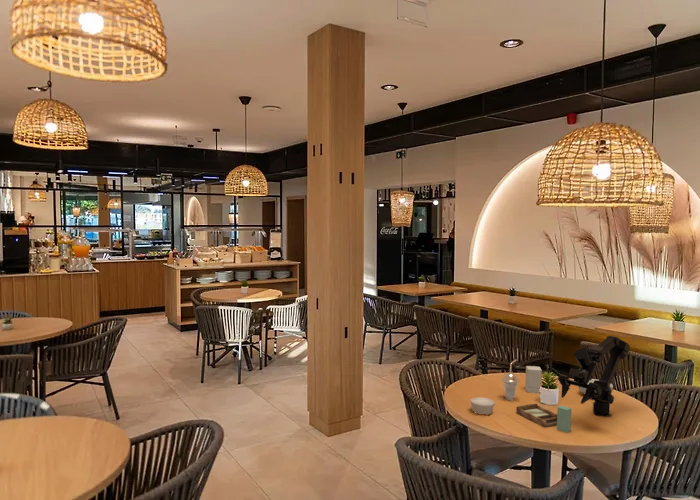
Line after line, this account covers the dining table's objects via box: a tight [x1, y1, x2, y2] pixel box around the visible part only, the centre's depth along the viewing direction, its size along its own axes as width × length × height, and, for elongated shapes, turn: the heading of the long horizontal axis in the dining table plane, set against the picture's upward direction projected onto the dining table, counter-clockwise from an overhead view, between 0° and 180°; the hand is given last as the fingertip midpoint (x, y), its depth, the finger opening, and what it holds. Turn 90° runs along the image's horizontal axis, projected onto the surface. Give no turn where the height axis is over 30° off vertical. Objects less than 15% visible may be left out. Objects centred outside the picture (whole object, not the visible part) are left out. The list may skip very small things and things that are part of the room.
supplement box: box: [524, 365, 543, 394], centre depth 282 cm, size 7×7×13 cm
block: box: [556, 405, 572, 433], centre depth 229 cm, size 4×4×10 cm
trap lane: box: [515, 403, 557, 428], centre depth 242 cm, size 18×12×3 cm, turn 23°
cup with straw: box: [501, 359, 520, 401], centre depth 268 cm, size 8×9×20 cm
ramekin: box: [470, 397, 495, 415], centre depth 250 cm, size 11×11×5 cm
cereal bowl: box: [577, 378, 614, 394], centre depth 275 cm, size 17×17×7 cm
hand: (571, 400), depth 232 cm, fingers open, 9 cm apart
